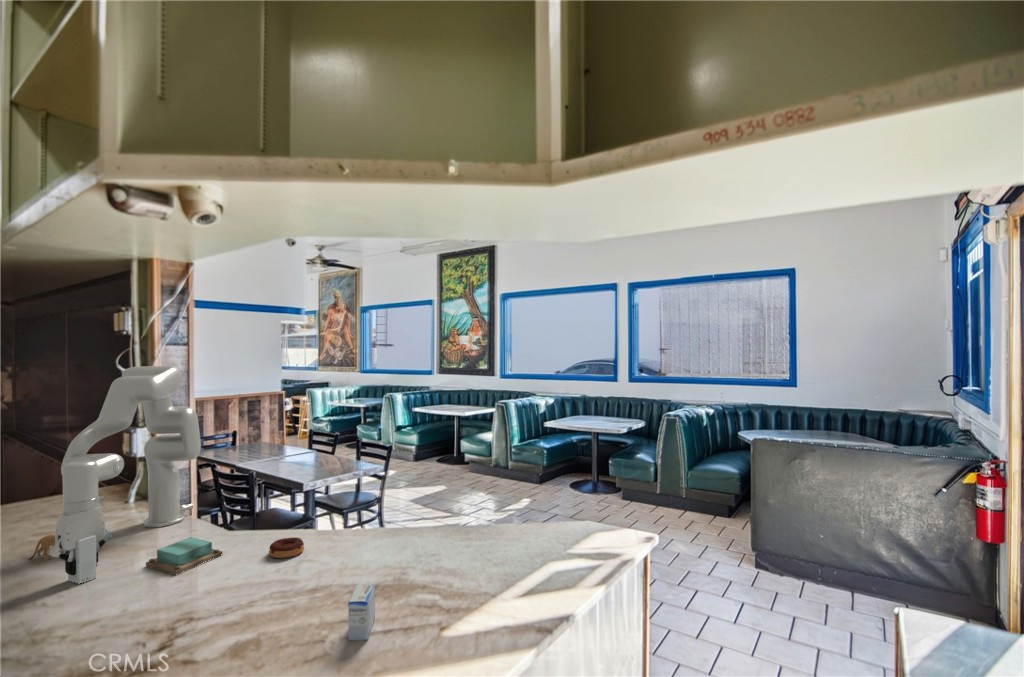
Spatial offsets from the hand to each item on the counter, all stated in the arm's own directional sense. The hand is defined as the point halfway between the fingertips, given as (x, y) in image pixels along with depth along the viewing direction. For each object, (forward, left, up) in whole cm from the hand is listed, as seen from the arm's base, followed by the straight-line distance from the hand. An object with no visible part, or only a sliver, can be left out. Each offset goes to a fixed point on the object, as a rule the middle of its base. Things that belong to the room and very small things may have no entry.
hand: (82, 569), depth 139 cm
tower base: (-19, +15, -3) cm, 24 cm away
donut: (-35, +39, -3) cm, 53 cm away
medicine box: (-12, +89, -3) cm, 90 cm away
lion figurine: (-7, -25, -3) cm, 27 cm away
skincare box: (0, 0, -3) cm, 3 cm away
